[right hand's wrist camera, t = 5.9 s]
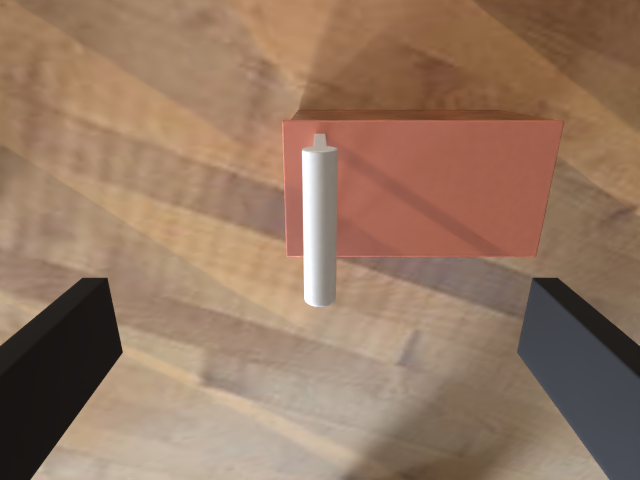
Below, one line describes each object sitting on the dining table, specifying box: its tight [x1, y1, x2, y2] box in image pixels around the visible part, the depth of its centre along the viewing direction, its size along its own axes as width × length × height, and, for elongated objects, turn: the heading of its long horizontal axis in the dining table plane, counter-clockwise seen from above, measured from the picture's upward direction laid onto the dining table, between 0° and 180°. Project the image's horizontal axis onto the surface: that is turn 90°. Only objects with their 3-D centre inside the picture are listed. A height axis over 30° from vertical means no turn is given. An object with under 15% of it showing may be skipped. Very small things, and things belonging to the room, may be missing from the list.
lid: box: [282, 120, 564, 307], centre depth 24 cm, size 18×9×9 cm, turn 90°
